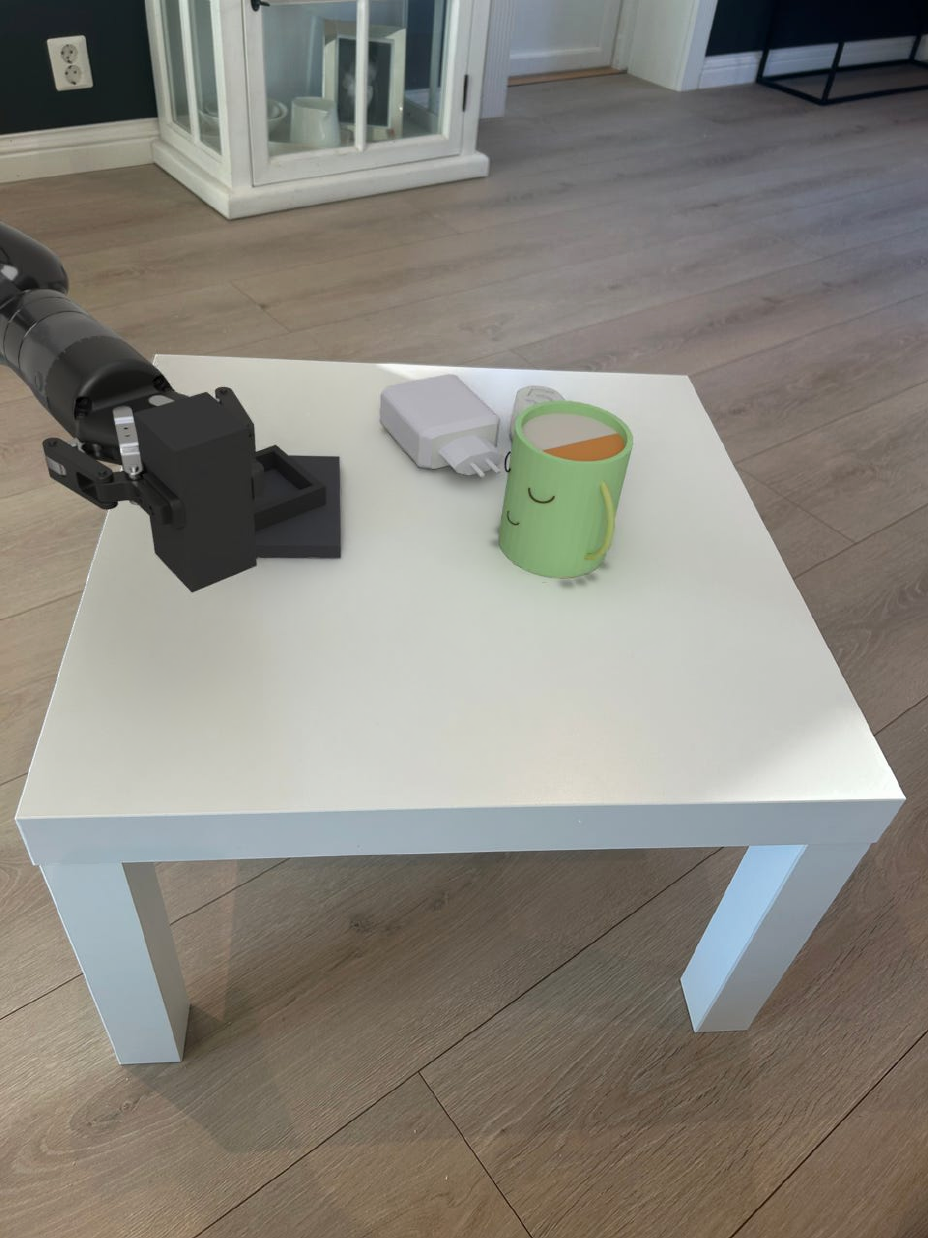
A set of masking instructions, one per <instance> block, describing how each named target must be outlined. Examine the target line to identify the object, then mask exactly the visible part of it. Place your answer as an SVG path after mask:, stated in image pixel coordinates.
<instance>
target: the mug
mask: <svg viewBox="0 0 928 1238" xmlns="http://www.w3.org/2000/svg"><path fill="white" fill-rule="evenodd" d="M633 447H634V435H633V432H632V430H631V429H630V427H629V426H628V425H627V423H625V421H623V420H622V419H621V418H620V417H618V416H617V415H616V414H614V413H612V412H610V411H608V410H606V409H604V408H602V407H600V406H596V405H593V404H589V403H585V402H581V401H572V400H565V401H548V402H542V403H538V404H535V405H532V406H530V407H528V408H526V409H525V410H523V411H522V412H521V413H520V414H519V416H518V417H517V419H516V422H515V428H514V435H513V441H512V443H511V449H510V450H508V452H507V453H506V455H505V456H504V463H503V466H504V467H503V468H504V471H505V472H506V474H507V475H506V483H505V489H504V496H503V502H502V508H501V509H502V510H501V516H500V524H499V529H498V530H499V531H498V545H499V548H500V549H501V551H502V552H503V554H504V555H505V556H506V557H507V559H508V560H510V562H512V563H513V564H514V565H515V566H518V567H519V568H521V569H523V570H525V571H527V572H530V573H531V574H534V575H538V576H541V577H547V578H554V579H572V578H577V577H581V576H584V575H588V574H590V573H592V572H593V571H595V570H596V569H598V568H599V567H600V566H601V565H602V563H603V562H604V561H605V558H606V555H607V552H608V551H609V549H610V547H611V544H612V542H613V538H614V535H615V534H614V533H615V524H616V523H615V521H616V520H615V519H616V515H617V511H618V507H619V503H620V499H621V494H622V490H623V487H624V483H625V478H626V475H627V470H628V466H629V462H630V458H631V454H632V450H633ZM508 458H509V463H508V467H507V462H508Z"/></svg>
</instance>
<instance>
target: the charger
mask: <svg viewBox="0 0 928 1238" xmlns="http://www.w3.org/2000/svg"><path fill="white" fill-rule="evenodd" d="M379 423H380V424H381V425H382V426H383V427H384V428H385V430H386V431H387V432H388V433H389V434H390V435H391V436H392V438H393V439H394V440H395V441H396V442H397V443H398V445H399V446H400V447H401V448H402V449H403V451H404V452H405V453H406V454H407V455H408V457H410V458H411V460H412V461H413V462H414V464H416V465H417V467H419V468H422V469H431V470H432V469H441V468H445V467H448V466H451V467H452V468H453V470H454V471H455V472H456V473H457V474H462V475H465V476H472V475H478V476H479V477H481V478H484V477H485V476H486V474H485V472H489V471H490V470H492V471H493V472H494V473H495V474H500V473H501V470H500V468H499V467H497V465H499V464H500V463H501V462H502V461H503V460H505V456H504V455H503V454H502V453H501V452H500V450H499V449H497V446H498V442H499V441H498V440H499V434H500V433H499V432H500V424H501V417H500V416H499V415H498V414H497V413H496V412H495V411H494V410H492V408H490V406H488V405H487V404H486V403H485V402H484V400H482V399H481V398H480V397H479V396H478V395H477V394H476V393H475V392H474V391H473V390H472V389H471V388H470V387H469V386H468V385H467V384H466V383H465V382H464V381H463V379H461V378H459V376H458V375H456V374H451V373H449V374H442V375H437V376H432V377H431V376H430V377H426V378H421V379H416V380H415V379H414V380H410V381H404V382H399V383H395V384H391V385H388V386H386V387H385V388H384V389H383V390H381V392H380V399H379Z"/></svg>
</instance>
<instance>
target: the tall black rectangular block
mask: <svg viewBox="0 0 928 1238" xmlns="http://www.w3.org/2000/svg"><path fill="white" fill-rule="evenodd" d="M134 418H135V425H136V432H137V438H138V445H139V451H140V458H141V460H142V461H143V464H144V469H145V472H146V473H148V472H151V471H152V472H153V473H154V474H155V475H156V476H157V477H158V478H159V479H160V480H161V481H162V482H163V483H164V484H165V485H166V486H167V487H168V488H169V489H170V490H171V491H172V492H173V493H174V494H175V495H176V496H177V497H178V498H179V499H180V500H181V502H182V504H183V511H184V519H185V526H184V527H181V528H179V529H176V530H172V529H171V528H170V527H169V526H168V525H167V524H166V525H164V526H162V525H160V524H158V523H156V522H155V521H154V520H153V519H152V518H151V517H150V516H149V515H148V516H149V524H150V531H151V536H152V543H153V550H154V554H155V556H157V558H159V560H160V561H161V562H162V563H163V564H164V565H165V566H166V567H167V568H168V569H169V571H170V572H171V573H173V575H175V577H176V578H177V579H178V580H179V581H180V582H181V583H182V584H183V585H184V586H185V587H186V589H187V590H188V591H189V592H190V593H191V594H193V593H195V592H198V591H200V590H203V589H205V588H207V587H210V586H212V585H215V584H216V583H220V582H221V581H224V580H227V579H229V578H231V577H233V576H236V575H238V574H241V573H243V572H246V571H248V570H251V569H253V568H255V567H257V566H258V560H257V559H258V558H257V557H256V541H255V524H254V508H253V492H252V476H251V458H250V442H249V428H248V426H247V425H245V424H244V423H243V422H242V421H241V420H239V419H238V418H237V417H236V416H235V415H234V414H232V413H231V412H230V411H229V410H228V409H226V408H225V407H224V406H223V405H222V404H221V403H219V402H218V401H217V400H216V399H215V397H214V396H213V395H211V394H210V393H209V392H207V391H203V392H201V393H197V394H194V395H190V396H189V397H187V398H183V399H180V400H177V401H173V402H170V403H166V404H163V405H160V406H156V407H153V408H150V409H146V410H143V411H139V412H136V413H134Z"/></svg>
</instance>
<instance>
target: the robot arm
mask: <svg viewBox="0 0 928 1238" xmlns="http://www.w3.org/2000/svg"><path fill="white" fill-rule="evenodd" d="M69 291H70V280H69V274H68V273H67V270H66V267H65V266H64V264H63V262H62V260H61V259H60V257H59V256H58V255H57V254H56V253H55V252H54V251H53V250H51V249H50V248H49V247H48V246H47V245H45V244H44V243H42V242H41V241H40V240H38V239H36V238H34V237H33V236H31V235H29V234H27V233H25V232H24V231H21V230H20V229H18V228H16V227H14V226H12V225H10V224H8V223H6V222H4V221H3V220H0V365H1V366H5V367H7V368H10V369H11V370H12V371H13V372H14V373H15V374H16V375H17V376H18V377H19V378H20V380H22V381H23V383H24V384H26V386H27V387H29V389H30V391H31V393H32V394H33V395H34V397H35V399H36V400H37V401H38V403H39V404H40V405H41V406H42V407H43V408H44V410H46V411H47V412H48V413H49V414H50V416H51V417H52V418H53V419H54V420H55V421H56V422H57V423H58V424H59V425H60V426H61V427H62V428H63V429H64V430H65V431H66V432H67V433H68V435H70V436H71V438H72V439H70V440H68V441H64V440H63V439H61V438H60V437H55V436H53V437H48V438H46V439H44V440H43V441H42V442H41V445H42V449H43V455H44V458H45V463H46V467H47V470H48V471H47V472H48V475H49V478H50V479H52V480H54V481H55V482H57V483H59V484H60V485H62V486H64V487H65V488H67V489H69V490H70V491H72V492H73V493H75V494H77V495H78V496H80V497H81V498H83V499H85V500H86V501H88V502H90V503H91V504H93V505H94V506H96V507H98V508H100V509H101V510H104V511H107V510H114V509H115V508H117V507H118V506H119V502H126V501H127V502H129V503H130V504H131V505H134V506H139V507H140V509H142V510H143V512H145V513H146V514H147V515H148V516H150V517H151V518H152V519H153V520H154V521H155V522H156V523H158V524H160V525H162V526H164V525H166V524H167V525H168V526H169V527H170V528H171V529H172V530H176V529H179V528H181V527H184V526H185V519H184V511H183V504H182V502H181V500H180V499H179V498H178V497H177V496H176V495H175V494H174V493H173V492H172V491H171V490H170V489H169V488H168V487H167V486H166V485H165V484H164V483H163V482H162V481H161V480H160V479H159V478H158V477H157V476H156V475H155V474H154V473H153V472H152V471H151V472H148V473H146V472H145V469H144V464H143V461H142V460H141V458H140V451H139V445H138V438H137V432H136V425H135V418H134V413H136V412H139V411H143V410H146V409H150V408H153V407H156V406H160V405H163V404H166V403H170V402H173V401H177V400H180V399H183V398H187V397H190V396H189V395H188V394H187V395H186V394H183V393H180V392H177V391H176V390H175V389H174V387H173V386H172V385H171V383H170V381H169V380H168V378H166V376H165V375H164V374H163V372H161V370H160V369H158V368H157V367H156V366H155V365H154V364H153V363H152V362H151V361H149V360H148V359H147V358H146V357H145V356H143V355H142V354H141V353H140V352H139V351H138V350H137V349H135V348H134V347H133V346H132V345H131V344H130V343H129V342H127V341H126V340H125V339H124V338H123V337H122V336H121V335H119V333H117V332H116V331H114V330H113V329H111V328H110V327H109V326H107V325H105V324H103V323H101V322H100V321H98V320H97V319H96V318H95V317H94V316H93V315H91V314H90V313H89V312H88V311H87V310H85V309H84V308H83V307H82V306H81V305H80V304H78V303H77V302H76V301H75V300H74V299H73V298H72V297H70V296H69V295H68V294H69ZM214 398H215V399H216V400H217V401H218V402H219V403H221V404H222V405H223V406H224V407H225V408H226V409H228V410H229V411H230V412H231V413H232V414H234V415H235V416H236V417H237V418H238V419H239V420H241V421H242V422H243V423H244V424H245V425H247V426H248V428H249V442H250V458H251V476H252V492H253V500H255V499H258V498H261V497H263V488H265V478H264V468H263V465H262V464H261V463H259V462H258V461H257V460H256V459H255V458H256V451H257V447H256V445H257V444H256V429H255V423H254V422H253V420H252V418H251V417H250V415H249V414H248V412H247V411H246V409H245V408H244V406H243V404H242V402H241V401H240V400H239V398H238V396H237V395H236V393H235V392H234V391H233V389H232V388H231V387H228V386H219V387H217V388H215V389H214ZM102 462H104V463H108V464H112V465H117V466H121V468H122V470H119V471H113V469H112V468H110V467H109V466H107V465H105V464H103V463H102ZM150 517H149V518H150Z"/></svg>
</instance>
